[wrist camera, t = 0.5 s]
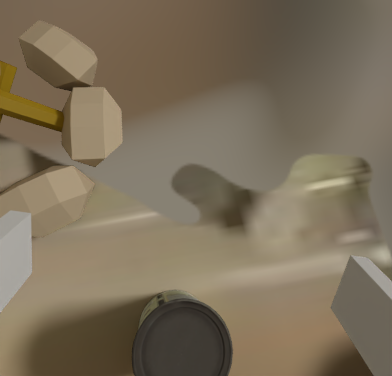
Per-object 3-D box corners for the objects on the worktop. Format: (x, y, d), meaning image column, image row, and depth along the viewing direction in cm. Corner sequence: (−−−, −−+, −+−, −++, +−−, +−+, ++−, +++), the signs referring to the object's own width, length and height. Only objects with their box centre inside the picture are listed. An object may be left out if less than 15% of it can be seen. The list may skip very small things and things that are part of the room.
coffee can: (207, 367, 44) (230, 412, 30) (134, 363, 43) (125, 409, 29) (211, 291, 47) (235, 302, 33) (143, 286, 45) (138, 295, 32)
